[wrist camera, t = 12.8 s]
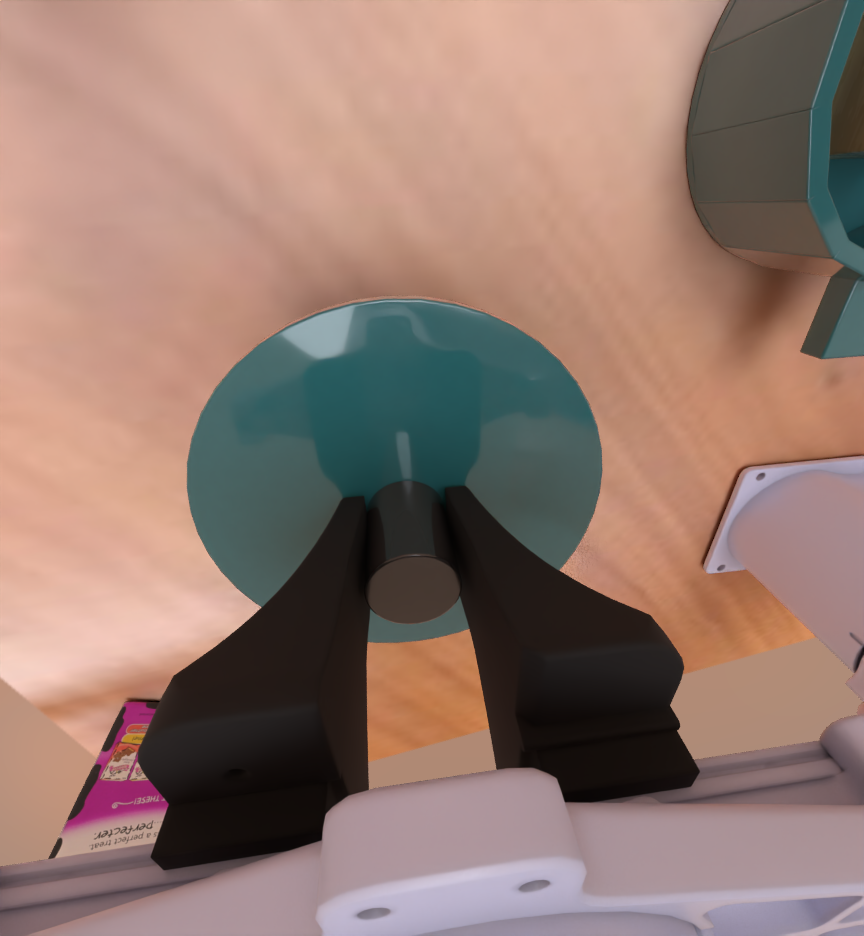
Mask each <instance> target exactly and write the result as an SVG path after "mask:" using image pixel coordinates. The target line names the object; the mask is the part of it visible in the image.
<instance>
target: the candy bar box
mask: <svg viewBox="0 0 864 936" xmlns="http://www.w3.org/2000/svg"><path fill="white" fill-rule="evenodd" d="M158 704H159V702H137V701H130V702H125V703H124V705H123V707H122V709H121V711H120V713H119V715H118V717H117V718H116V720H115V722H114V724H113V726H112V728H111V730H110V732H109V735H108V737H107V739H106V741H105V743H104V745H103V747H102V750H101V751H100V753H99V755H98V757H97V759H96V761H95V763H94V766H93V768H92V770H91V772H90V774H89V776H88V778H87V780H86V782H85V784H84V786H83V788H82V790H81V792H80V794H79V796H78V798H77V801H76V802H75V805H74V807H73V809H72V811H71V813H70V815H69V817H68V820H67V821H66V823H65V825H64V827H63V829H62V831H61V833H60V835H59V837H58V839H57V842H56V844H55V846H54V848H53V850H52V852H51V854H50V856H49V858H48V859H52V858H59V857H65V856H72V855H78V854H85V853H91V852H98V851H104V850H111V849H117V848H124V847H130V846H137V845H143V844H150V843H155V842H156V839H157V836H158V833H159V830H160V828H161V825H162V822H163V819H164V816H165V813H166V810H167V807H168V805H169V804H168V803H167V801H166V800H165V799H164V798H163V797H162V795H161V794H160V793H159V792H158V791H157V789H156V788H155V787H154V786H153V784H152V783H151V782H150V781H149V780H148V778H147V777H146V776H145V775H144V773H143V771H142V769H141V767H140V765H139V764H138V762H137V760H138V750H139V747H140V745H141V743H142V740H143V738H144V736H145V734H146V731H147V729H148V727H149V724H150V722H151V720H152V717H153V715H154V713H155V711H156V708H157V706H158Z"/></svg>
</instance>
